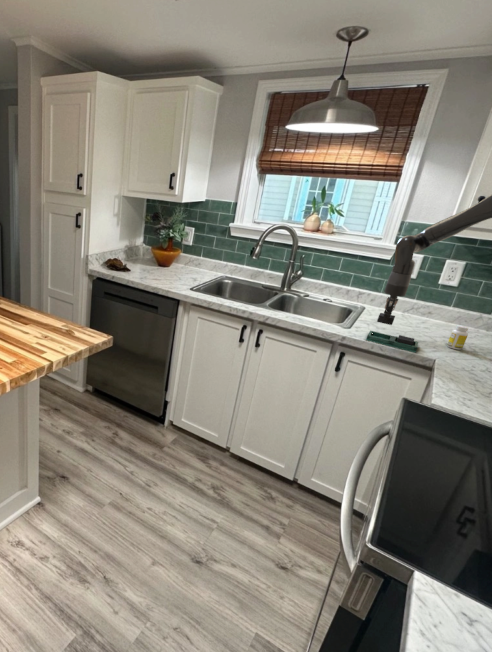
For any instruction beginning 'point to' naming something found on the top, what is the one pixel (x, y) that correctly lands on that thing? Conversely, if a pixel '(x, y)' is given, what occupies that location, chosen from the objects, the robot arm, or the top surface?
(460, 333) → the supplement bottle
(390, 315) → the far pad
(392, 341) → the base board
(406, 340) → the near pad
